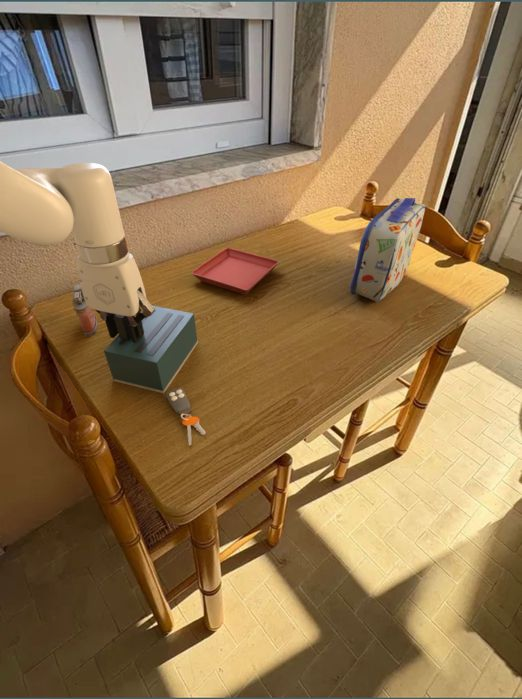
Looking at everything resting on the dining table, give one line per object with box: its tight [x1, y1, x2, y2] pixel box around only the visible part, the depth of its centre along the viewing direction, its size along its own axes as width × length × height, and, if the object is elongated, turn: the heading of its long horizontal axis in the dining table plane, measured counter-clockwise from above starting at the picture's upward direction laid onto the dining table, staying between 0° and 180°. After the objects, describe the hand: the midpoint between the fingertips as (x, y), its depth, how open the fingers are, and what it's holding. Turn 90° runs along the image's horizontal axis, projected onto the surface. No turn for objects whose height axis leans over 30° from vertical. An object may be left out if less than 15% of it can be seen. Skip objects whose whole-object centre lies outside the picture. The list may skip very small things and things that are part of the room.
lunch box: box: [349, 197, 426, 303], centre depth 98 cm, size 28×10×22 cm, turn 148°
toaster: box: [103, 305, 199, 395], centre depth 78 cm, size 11×16×8 cm
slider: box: [114, 314, 131, 340], centre depth 72 cm, size 2×3×5 cm
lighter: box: [71, 283, 99, 337], centre depth 86 cm, size 8×3×10 cm, turn 17°
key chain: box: [165, 387, 207, 447], centre depth 69 cm, size 13×4×2 cm, turn 30°
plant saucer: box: [191, 247, 280, 295], centre depth 106 cm, size 18×18×3 cm
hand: (127, 335), depth 73 cm, fingers open, 4 cm apart
